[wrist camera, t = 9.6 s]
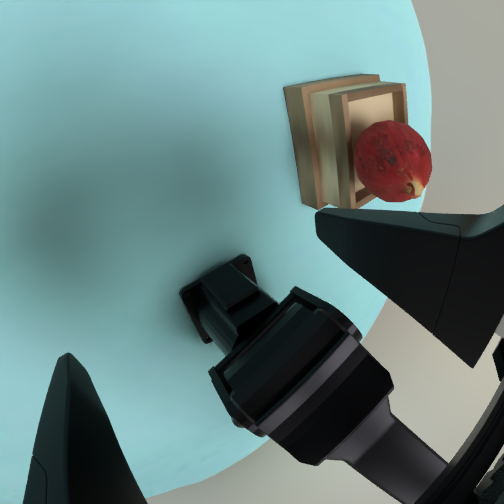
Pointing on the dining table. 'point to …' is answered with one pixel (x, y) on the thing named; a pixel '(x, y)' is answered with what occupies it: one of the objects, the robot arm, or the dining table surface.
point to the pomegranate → (392, 161)
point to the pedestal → (338, 133)
